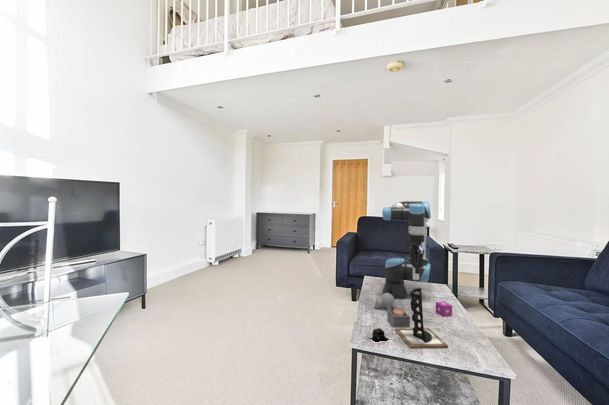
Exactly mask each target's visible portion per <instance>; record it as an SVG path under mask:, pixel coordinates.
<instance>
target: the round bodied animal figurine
mask: <svg viewBox="0 0 609 405" xmlns="http://www.w3.org/2000/svg"><path fill="white" fill-rule="evenodd" d="M375 299H376V300H375V303H374V302H373V303H372V304H373V306H374V307H375V309H379V308H380V307H382V306H384V307H385V308H386V310H387V311H388V310H393V309H397V304H396V303H395V298H394V297H393V295H391V294H390V293H384V294H382V295H381V297H380V298H377V297H376V298H375Z"/></svg>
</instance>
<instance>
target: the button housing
mask: <svg viewBox="0 0 609 405" xmlns="http://www.w3.org/2000/svg"><path fill="white" fill-rule="evenodd" d="M393 310H394V309H391V310H387V321H388V322H389V324H390V325H391V326H392V327H393V328H411V316H410V315H409V314H408V313H407V312H406V311H405V310H404V309H401V310H402V311H404V316H395V315H394V314H393Z"/></svg>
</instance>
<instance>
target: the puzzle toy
mask: <svg viewBox="0 0 609 405" xmlns="http://www.w3.org/2000/svg"><path fill="white" fill-rule="evenodd" d="M435 313H436V314H437V315H439V316H441V317H442V318H443V317H453V305H452V304H450V303H449V302H446V301H436V302H435Z"/></svg>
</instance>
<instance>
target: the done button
mask: <svg viewBox="0 0 609 405" xmlns="http://www.w3.org/2000/svg"><path fill="white" fill-rule="evenodd" d="M392 310H393V314H394V315H395V316H404V311H405V310H404V311H402V310H403V309H398V308H393V309H392Z"/></svg>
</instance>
